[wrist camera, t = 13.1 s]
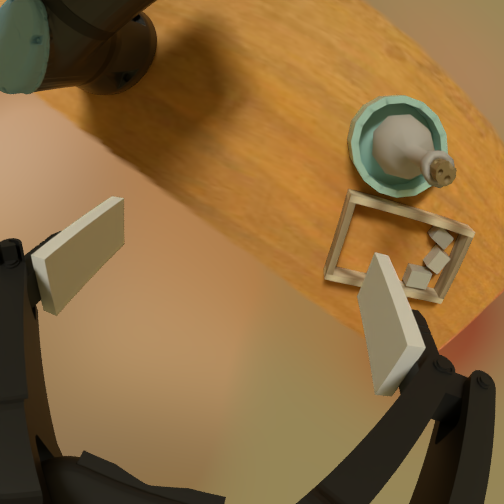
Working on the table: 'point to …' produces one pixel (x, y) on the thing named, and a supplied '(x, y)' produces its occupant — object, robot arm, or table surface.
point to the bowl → (363, 142)
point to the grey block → (417, 276)
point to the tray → (410, 212)
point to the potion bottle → (411, 151)
